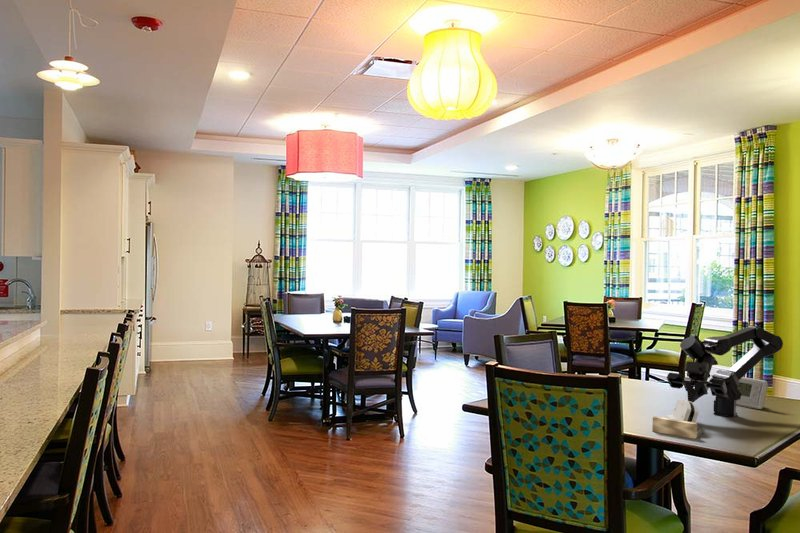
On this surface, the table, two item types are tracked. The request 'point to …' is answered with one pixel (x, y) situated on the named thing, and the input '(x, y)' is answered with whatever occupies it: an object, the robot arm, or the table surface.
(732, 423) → the table surface
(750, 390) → the digital clock
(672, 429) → the board
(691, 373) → the robot arm
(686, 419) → the pale rounded upright slab
